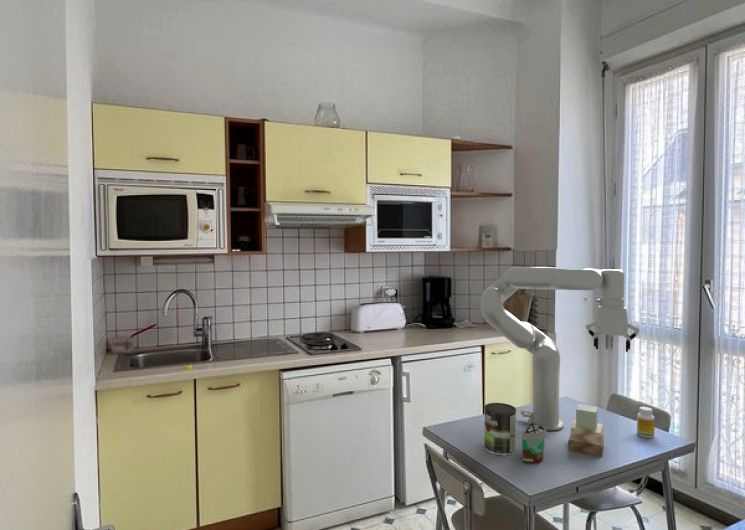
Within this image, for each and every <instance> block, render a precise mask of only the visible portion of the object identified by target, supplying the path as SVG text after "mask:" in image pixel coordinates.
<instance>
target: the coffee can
mask: <svg viewBox="0 0 745 530" xmlns="http://www.w3.org/2000/svg"><path fill="white" fill-rule="evenodd" d="M483 408H484V439H483V440H484V442H483V443H484V444H483V445H484V446H483V447H484V450H485V451H486V452H487V453H489V454H492V455H496V456H501V457H502V456H503V457H504V456H506V457H507V456H512V455H514V454H516V433H517V432H516V428H517V427H516V423H517V421H516V420H517V416H516V415H517V408H516V407H515V406H514V405H511V404H507V403H504V402H502V403H501V402H490V403H486V404H485V405H484V407H483Z"/></svg>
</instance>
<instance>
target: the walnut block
mask: <svg viewBox="0 0 745 530" xmlns="http://www.w3.org/2000/svg"><path fill="white" fill-rule="evenodd" d="M568 437H569V438H568V449H567V450H568V452H574V453H580V454H584V455H588V456H589V455H590V456H595V457H600V458H601V457H603V453H604V452H603V451H604V443H605V442H604V434H603V437H602V442H601V445H596V444H590V443H585V442H580V441H575V440H571V433H570V434H569V436H568Z"/></svg>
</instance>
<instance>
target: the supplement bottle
mask: <svg viewBox="0 0 745 530" xmlns="http://www.w3.org/2000/svg"><path fill="white" fill-rule="evenodd" d="M638 409H639V412H638V413H637V415H636V433H637V436H640V437H643V438H646V439H647V438H649V439H650V438H652V439H653V438H654V437H655V416H654V415H653V409H652V408H651V407H647V406H640V407H639V408H638Z"/></svg>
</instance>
